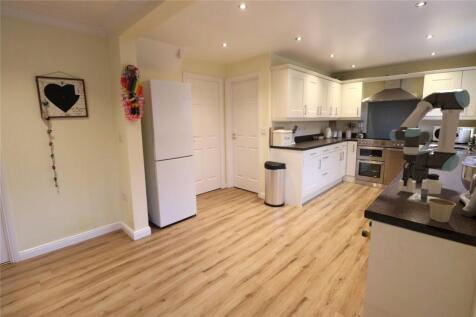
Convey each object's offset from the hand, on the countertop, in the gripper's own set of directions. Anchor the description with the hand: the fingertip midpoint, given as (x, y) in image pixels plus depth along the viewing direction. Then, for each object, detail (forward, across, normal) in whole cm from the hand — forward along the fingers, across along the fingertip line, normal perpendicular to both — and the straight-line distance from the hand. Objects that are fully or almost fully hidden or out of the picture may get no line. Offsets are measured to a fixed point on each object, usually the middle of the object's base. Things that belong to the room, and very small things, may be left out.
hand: (406, 189), depth 145 cm
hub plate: (+2, +11, +11) cm, 15 cm away
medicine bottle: (+2, -11, +10) cm, 15 cm away
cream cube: (0, 0, 0) cm, 0 cm away
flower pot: (+1, +38, +22) cm, 43 cm away
